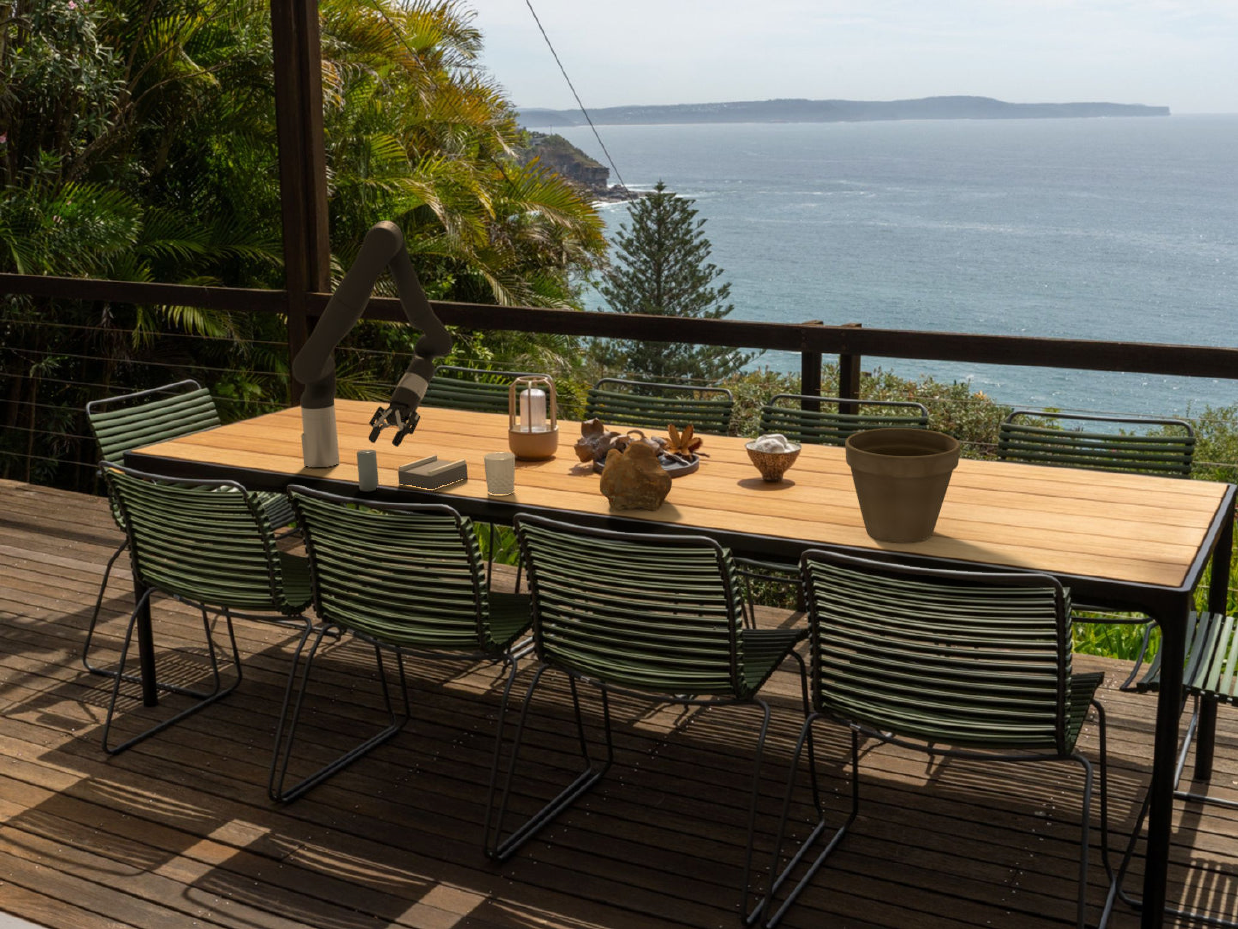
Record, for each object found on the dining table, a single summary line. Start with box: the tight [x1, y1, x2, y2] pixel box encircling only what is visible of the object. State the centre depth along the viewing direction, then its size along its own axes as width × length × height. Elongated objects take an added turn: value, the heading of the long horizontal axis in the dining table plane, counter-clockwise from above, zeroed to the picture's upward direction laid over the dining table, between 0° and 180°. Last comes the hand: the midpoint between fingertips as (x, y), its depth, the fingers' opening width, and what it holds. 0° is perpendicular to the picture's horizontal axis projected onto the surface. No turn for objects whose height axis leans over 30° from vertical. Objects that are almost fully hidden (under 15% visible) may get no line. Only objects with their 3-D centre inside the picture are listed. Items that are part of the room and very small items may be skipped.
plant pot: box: [844, 427, 961, 544], centre depth 267 cm, size 25×25×22 cm
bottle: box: [356, 449, 380, 492], centre depth 315 cm, size 5×5×10 cm
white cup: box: [483, 451, 516, 494], centre depth 308 cm, size 8×8×10 cm
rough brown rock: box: [599, 440, 673, 511], centre depth 295 cm, size 23×17×15 cm
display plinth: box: [397, 454, 468, 489], centre depth 321 cm, size 14×12×5 cm
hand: (382, 443), depth 319 cm, fingers open, 8 cm apart
